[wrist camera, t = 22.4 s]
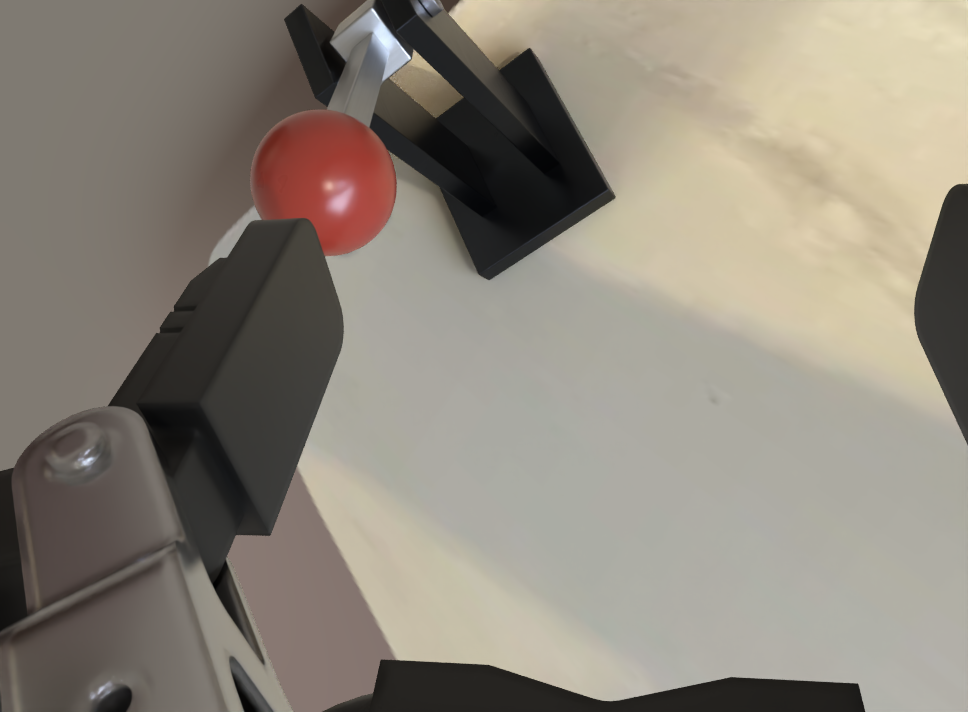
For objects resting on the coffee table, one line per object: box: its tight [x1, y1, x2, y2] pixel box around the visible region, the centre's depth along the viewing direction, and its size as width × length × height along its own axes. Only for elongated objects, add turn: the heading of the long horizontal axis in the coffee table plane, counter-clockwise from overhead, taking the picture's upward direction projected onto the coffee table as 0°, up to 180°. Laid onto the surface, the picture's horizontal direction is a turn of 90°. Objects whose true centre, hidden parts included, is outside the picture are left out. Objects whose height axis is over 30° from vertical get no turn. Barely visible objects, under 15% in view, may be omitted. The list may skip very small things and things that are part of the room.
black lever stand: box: [284, 0, 615, 280], centre depth 35 cm, size 10×8×15 cm
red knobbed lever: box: [250, 0, 413, 256], centre depth 25 cm, size 17×4×4 cm
